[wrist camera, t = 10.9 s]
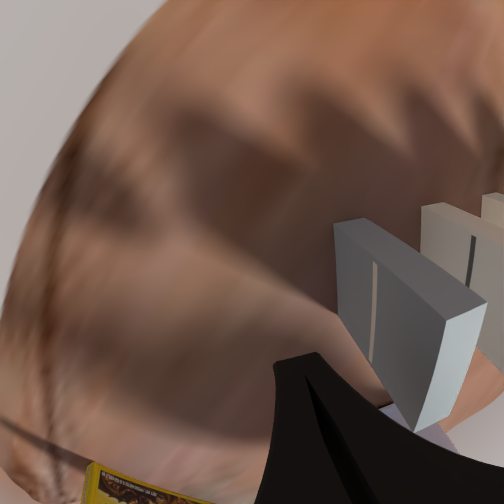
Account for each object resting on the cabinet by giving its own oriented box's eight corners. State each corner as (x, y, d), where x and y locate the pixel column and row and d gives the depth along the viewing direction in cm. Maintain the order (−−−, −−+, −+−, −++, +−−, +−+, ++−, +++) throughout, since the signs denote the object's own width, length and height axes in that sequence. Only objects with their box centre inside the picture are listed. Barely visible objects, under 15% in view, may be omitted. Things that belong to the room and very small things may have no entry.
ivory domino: (443, 202, 14) (563, 260, 7) (437, 284, 16) (528, 363, 9) (421, 206, 14) (545, 271, 7) (416, 291, 16) (507, 379, 9)
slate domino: (337, 315, 16) (412, 433, 8) (332, 223, 14) (446, 321, 6) (365, 307, 16) (449, 415, 8) (364, 217, 14) (488, 302, 6)
